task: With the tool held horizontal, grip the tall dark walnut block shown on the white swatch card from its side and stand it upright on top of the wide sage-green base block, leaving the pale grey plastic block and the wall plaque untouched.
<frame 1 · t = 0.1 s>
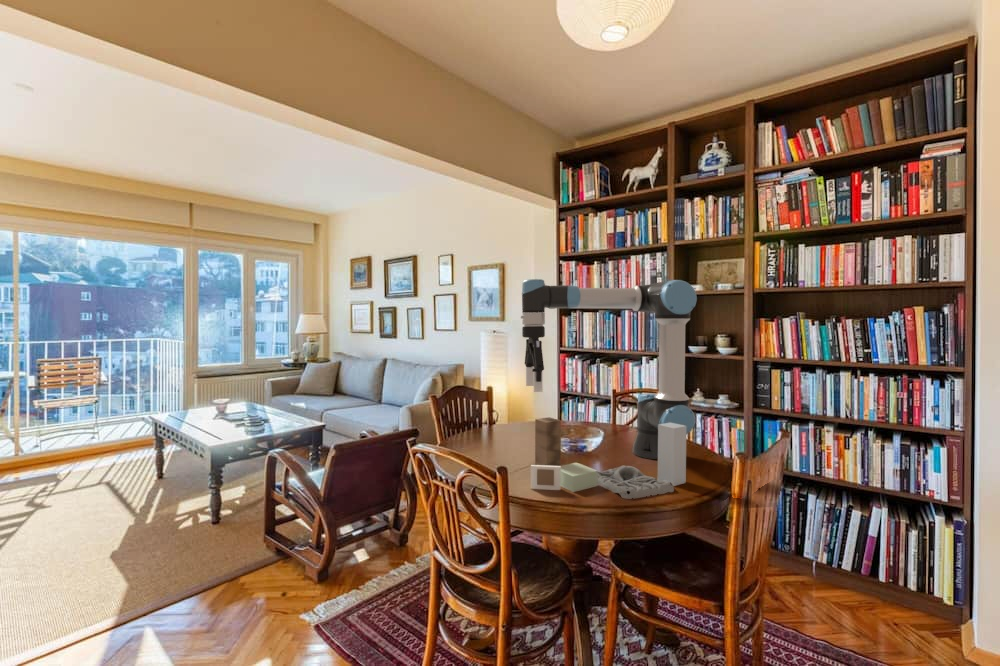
hand: (533, 388, 164), 28 cm above the table, tool pointing down, fingers open, 13 cm apart
walnut block: (547, 473, 161), on the table
swatch card: (545, 488, 147), on the table
sage base block: (574, 484, 151), on the table
wall plaque: (628, 484, 153), on the table
grey plastic block: (671, 481, 154), on the table
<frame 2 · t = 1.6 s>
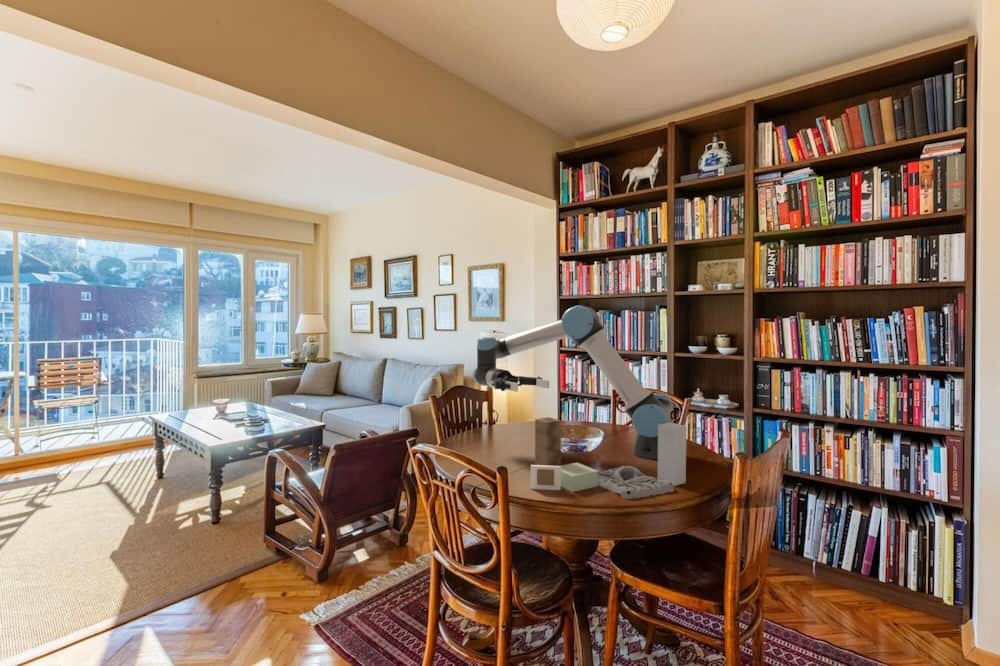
hand: (533, 386, 168), 28 cm above the table, tool horizontal, fingers open, 13 cm apart
nothing on the table moved.
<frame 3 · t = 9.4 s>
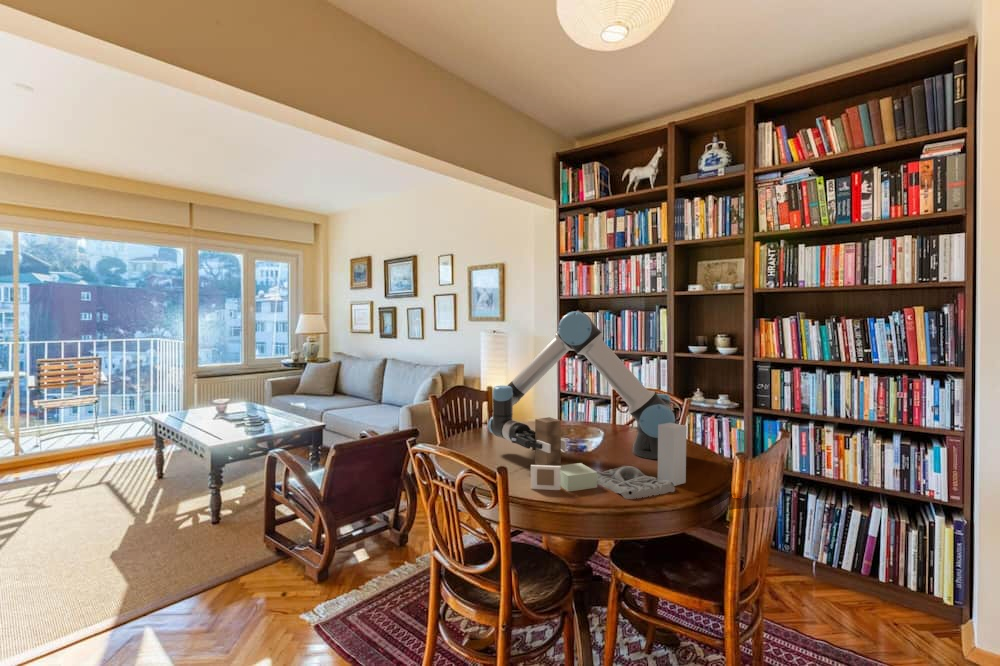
hand: (557, 447, 157), 10 cm above the table, tool horizontal, fingers closed on walnut block, 6 cm apart
walnut block: (547, 473, 161), on the table, touching gripper
when the fingers open (16 cm above the table, at t = 15.1 s): walnut block drops 1 cm, resting on sage base block.
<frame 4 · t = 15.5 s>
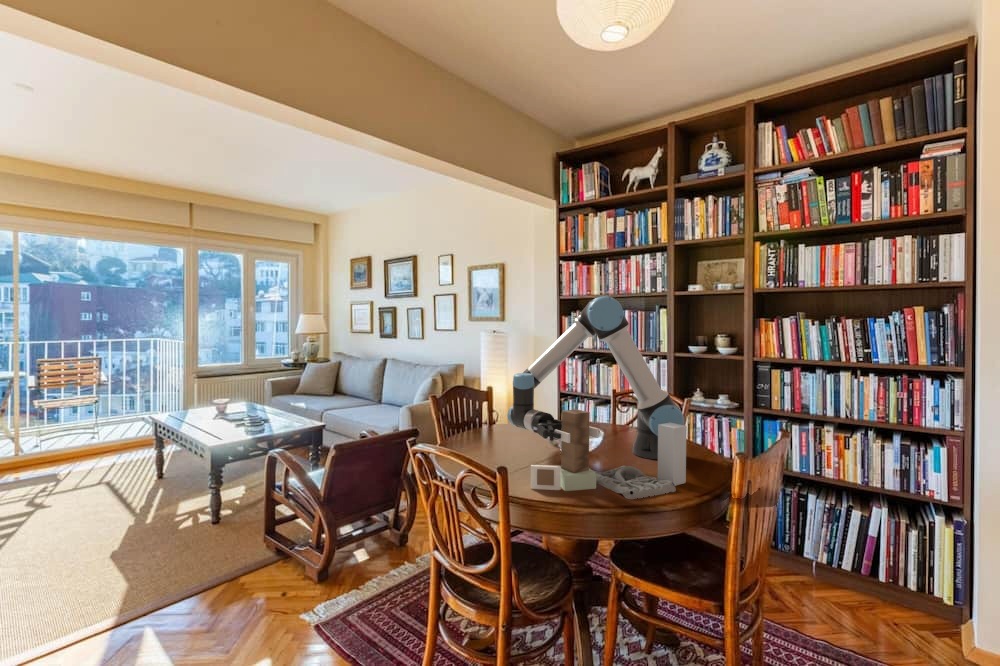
hand: (583, 435, 147), 16 cm above the table, tool horizontal, fingers open, 11 cm apart
walnut block: (574, 469, 151), point 5 cm above the table, touching sage base block
sage base block: (574, 485, 151), on the table, touching walnut block
everything else where it was.
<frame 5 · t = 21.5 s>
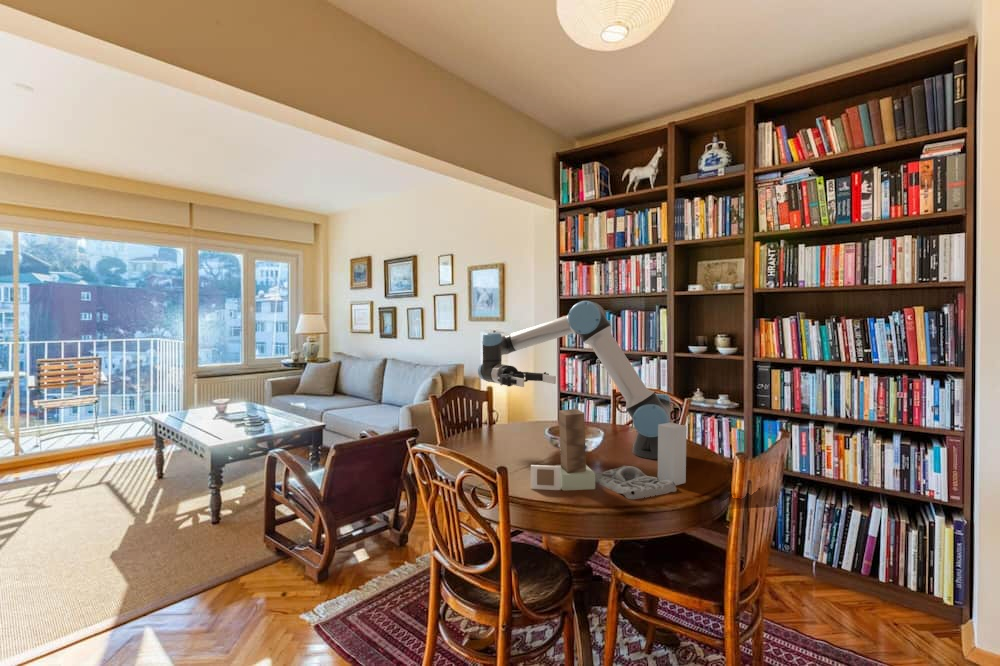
hand: (539, 381, 166), 30 cm above the table, tool horizontal, fingers open, 13 cm apart
at the end: walnut block 0.5 cm off-centre on the sage base block, point 5.3 cm above the sage base block's base; walnut block tilted 4°; the gripper is holding nothing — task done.
